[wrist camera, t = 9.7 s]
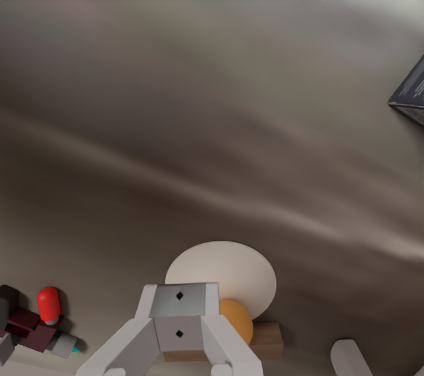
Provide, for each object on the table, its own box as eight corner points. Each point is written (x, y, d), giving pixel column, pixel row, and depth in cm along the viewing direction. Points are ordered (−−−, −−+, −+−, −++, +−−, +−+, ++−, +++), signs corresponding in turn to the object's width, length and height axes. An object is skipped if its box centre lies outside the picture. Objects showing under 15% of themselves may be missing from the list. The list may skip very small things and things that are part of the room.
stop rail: (167, 325, 34) (162, 347, 31) (277, 321, 33) (283, 344, 30) (169, 338, 34) (165, 361, 32) (276, 335, 34) (282, 358, 31)
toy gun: (80, 349, 36) (61, 388, 32) (-10, 315, 34) (-44, 352, 29) (108, 305, 33) (92, 341, 28) (12, 263, 30) (-23, 296, 26)
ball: (200, 311, 27) (203, 369, 26) (254, 307, 27) (259, 365, 27) (202, 295, 33) (205, 343, 32) (247, 292, 33) (251, 340, 32)
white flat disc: (158, 242, 29) (158, 244, 28) (279, 238, 28) (279, 239, 28) (171, 327, 34) (171, 329, 34) (273, 324, 33) (273, 326, 33)
